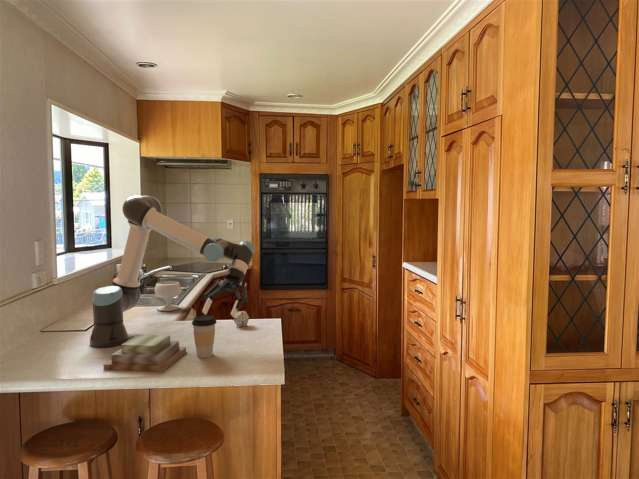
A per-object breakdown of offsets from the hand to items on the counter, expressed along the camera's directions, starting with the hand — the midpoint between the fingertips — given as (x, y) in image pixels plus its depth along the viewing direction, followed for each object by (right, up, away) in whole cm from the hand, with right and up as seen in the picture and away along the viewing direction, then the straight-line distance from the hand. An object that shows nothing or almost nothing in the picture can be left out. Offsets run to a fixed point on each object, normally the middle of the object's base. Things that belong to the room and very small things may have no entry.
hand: (218, 314), depth 190 cm
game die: (+4, -12, +35) cm, 37 cm away
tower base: (-24, -16, -12) cm, 32 cm away
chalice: (-43, -9, +71) cm, 84 cm away
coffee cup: (-4, -15, -6) cm, 17 cm away
